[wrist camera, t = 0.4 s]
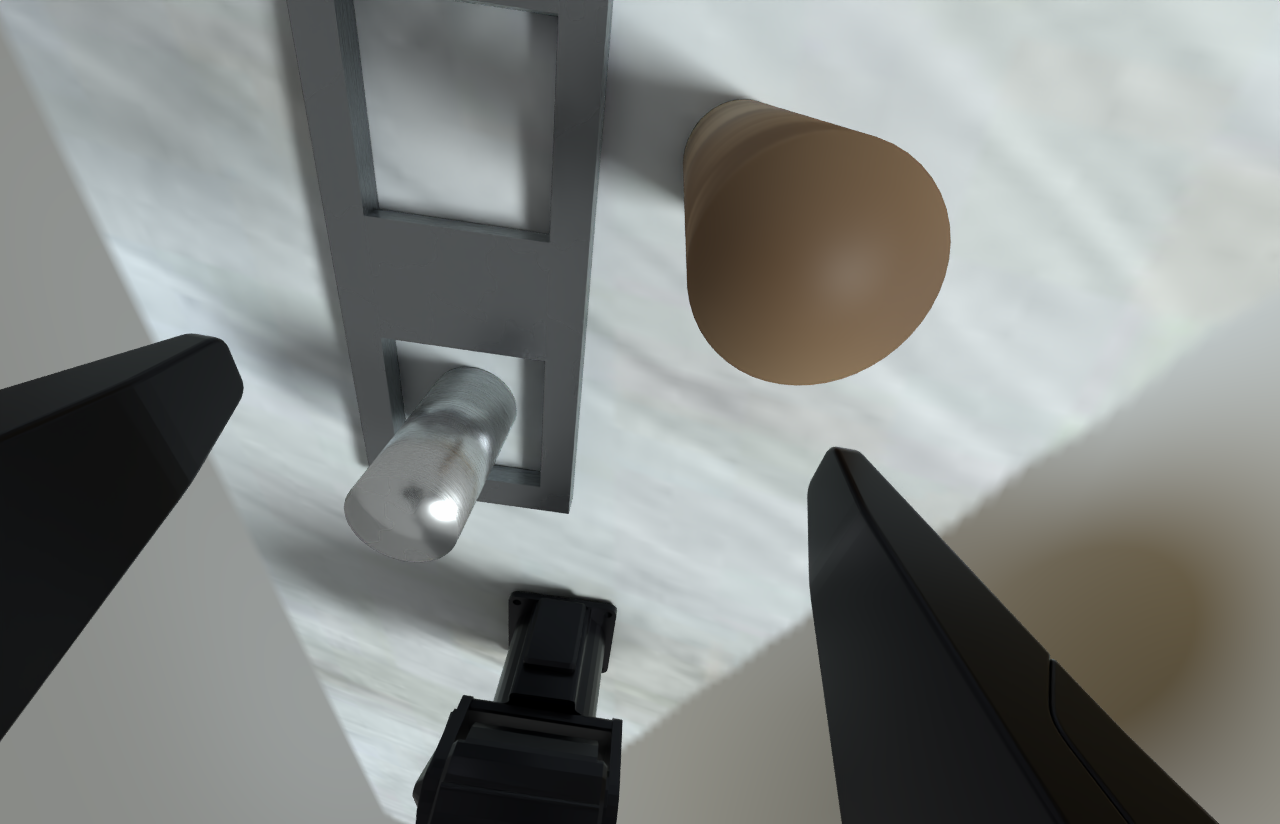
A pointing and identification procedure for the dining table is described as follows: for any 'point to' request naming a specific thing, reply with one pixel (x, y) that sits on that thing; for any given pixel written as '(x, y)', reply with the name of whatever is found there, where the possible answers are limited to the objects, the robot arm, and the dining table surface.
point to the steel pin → (433, 468)
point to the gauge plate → (461, 244)
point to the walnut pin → (807, 243)
